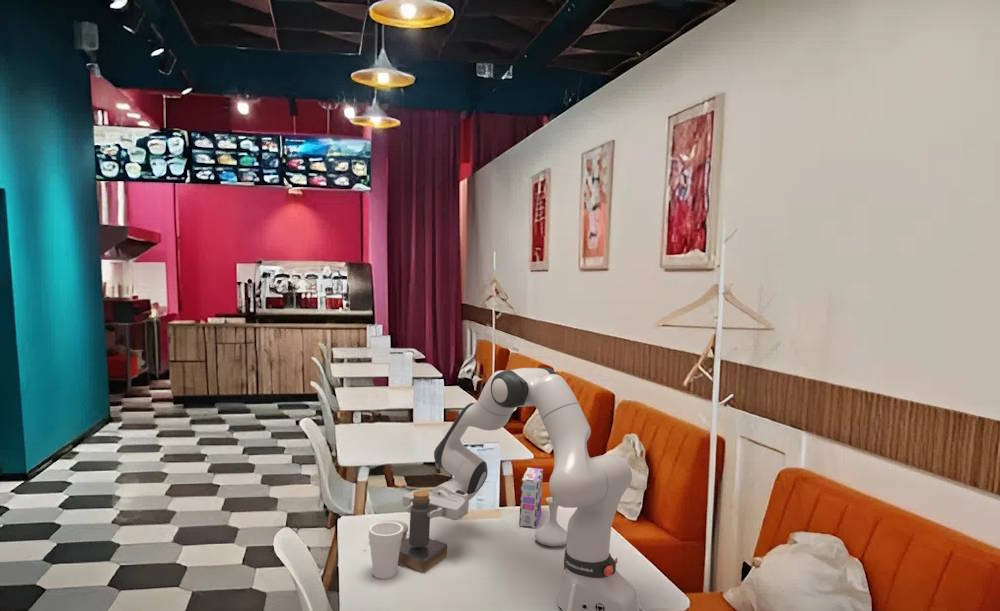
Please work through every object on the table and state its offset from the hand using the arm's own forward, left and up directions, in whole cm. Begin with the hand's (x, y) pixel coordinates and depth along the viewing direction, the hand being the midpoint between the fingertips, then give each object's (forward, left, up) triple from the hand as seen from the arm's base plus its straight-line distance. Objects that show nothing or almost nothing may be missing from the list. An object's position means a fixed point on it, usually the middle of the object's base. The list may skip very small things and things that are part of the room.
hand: (418, 513), depth 187 cm
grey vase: (-28, -35, -15) cm, 47 cm away
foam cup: (+3, +11, -15) cm, 19 cm away
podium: (0, -1, -14) cm, 14 cm away
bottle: (0, -1, -9) cm, 10 cm away
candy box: (-15, -46, -15) cm, 50 cm away
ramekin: (+14, -5, -15) cm, 21 cm away
